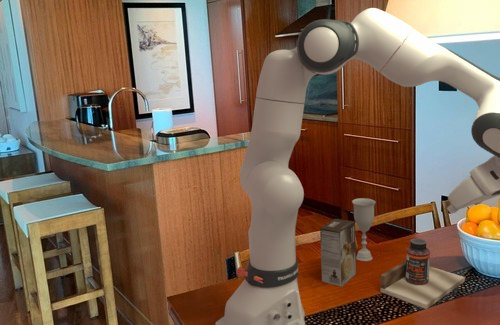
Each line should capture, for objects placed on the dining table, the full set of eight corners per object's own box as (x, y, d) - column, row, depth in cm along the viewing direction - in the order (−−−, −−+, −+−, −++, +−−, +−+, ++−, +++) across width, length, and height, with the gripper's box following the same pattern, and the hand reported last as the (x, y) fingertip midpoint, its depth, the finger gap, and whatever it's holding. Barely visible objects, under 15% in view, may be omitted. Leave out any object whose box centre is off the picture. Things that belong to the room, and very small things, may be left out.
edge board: (426, 309, 118) (426, 291, 117) (380, 291, 128) (380, 275, 127) (464, 281, 131) (465, 264, 130) (420, 267, 140) (420, 251, 139)
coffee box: (336, 269, 142) (335, 217, 139) (356, 274, 138) (356, 221, 135) (321, 282, 135) (319, 227, 132) (341, 287, 131) (341, 231, 128)
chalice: (347, 256, 151) (347, 200, 147) (365, 251, 154) (365, 196, 150) (362, 264, 144) (362, 206, 141) (380, 259, 147) (380, 202, 143)
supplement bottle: (405, 284, 128) (406, 244, 126) (405, 274, 134) (405, 236, 131) (429, 286, 126) (430, 246, 124) (428, 276, 132) (429, 237, 130)
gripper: (522, 154, 111) (480, 187, 122) (469, 169, 101) (427, 203, 111) (540, 176, 109) (496, 208, 119) (488, 194, 98) (444, 227, 108)
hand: (462, 206), depth 115 cm, fingers open, 8 cm apart
